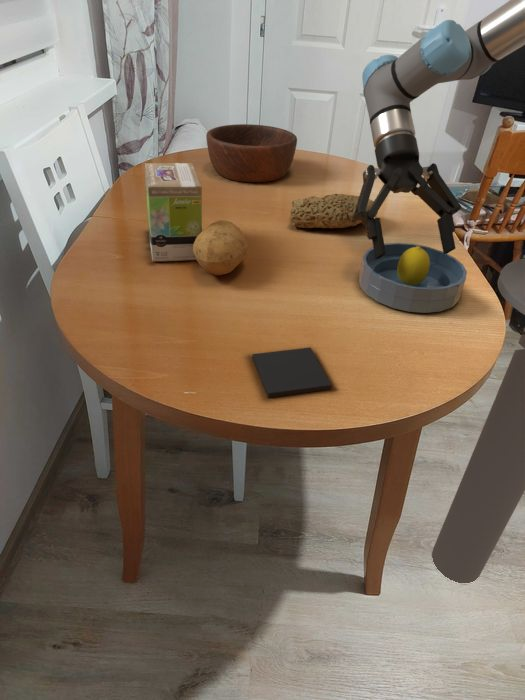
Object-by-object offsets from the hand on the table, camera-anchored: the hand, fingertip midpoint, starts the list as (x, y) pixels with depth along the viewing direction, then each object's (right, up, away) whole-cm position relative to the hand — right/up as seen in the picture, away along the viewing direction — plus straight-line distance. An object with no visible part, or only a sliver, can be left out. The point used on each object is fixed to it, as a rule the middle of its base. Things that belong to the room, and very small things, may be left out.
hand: (415, 253), depth 92 cm
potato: (-35, -2, +7) cm, 36 cm away
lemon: (0, -6, +4) cm, 7 cm away
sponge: (-11, +12, +27) cm, 32 cm away
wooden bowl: (-31, +34, +56) cm, 72 cm away
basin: (0, -6, +4) cm, 7 cm away
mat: (-23, -20, -18) cm, 36 cm away
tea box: (-45, +4, +14) cm, 48 cm away
